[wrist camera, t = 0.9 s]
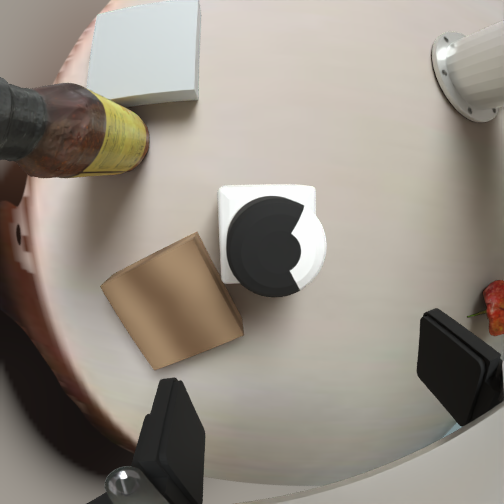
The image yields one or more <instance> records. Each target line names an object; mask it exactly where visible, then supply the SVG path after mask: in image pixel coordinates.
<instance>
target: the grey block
mask: <svg viewBox="0 0 504 504" xmlns="http://www.w3.org/2000/svg"><path fill="white" fill-rule="evenodd" d="M200 32H201V10H200V4H199V0H170V1H162V2H155V3H149V4H143V5H137V6H132V7H127V8H122V9H118V10H113V11H109V12H105V13H101V14H97V19H96V24H95V29H94V35H93V41H92V48H91V54H90V62H89V70H88V79H87V89H89V90H91V91H93V92H95V93H97V94H99V95H101V96H103V97H105V98H107V99H110V100H112V101H113V102H115V103H117V104H119V105H121V106H123V107H131V106H139V105H147V104H156V103H166V102H177V101H191V100H199V57H200Z"/></svg>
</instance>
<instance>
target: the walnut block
mask: <svg viewBox="0 0 504 504" xmlns="http://www.w3.org/2000/svg"><path fill="white" fill-rule="evenodd" d="M100 287H101V289H102V290H103V292H104V294H105V296H106V297H107V299H108V301H109V302H110V304H111V306H112V307H113V309H114V311H115V312H116V314H117V315H118V317H119V319H120V320H121V322H122V323H123V325H124V327H125V328H126V330H127V331H128V333H129V334H130V336H131V337H132V339H133V340H134V342H135V343H136V345H137V346H138V348H139V349H140V351H141V352H142V354H143V355H144V356H145V358H146V359H147V361H148V362H149V364H150V365H151V366H152V368H153V369H154V370H157V369H160V368H162V367H165V366H168V365H170V364H173V363H176V362H178V361H181V360H184V359H186V358H189V357H192V356H194V355H197V354H199V353H202V352H204V351H207V350H209V349H212V348H214V347H217V346H219V345H222V344H224V343H227V342H229V341H231V340H234V339H236V338H239V337H241V336H243V335H244V332H243V322H242V317H241V315H240V313H239V311H238V310H237V308H236V306H235V304H234V302H233V300H232V298H231V296H230V295H229V293H228V291H227V289H226V287H225V285H224V283H223V282H222V280H221V277H220V275H219V273H218V272H217V270H216V268H215V266H214V264H213V262H212V260H211V258H210V256H209V254H208V252H207V250H206V248H205V246H204V244H203V242H202V240H201V238H200V236H199V234H198V232H195V233H193V234H191V235H189V236H187V237H185V238H183V239H181V240H179V241H177V242H175V243H173V244H171V245H169V246H167V247H165V248H163V249H161V250H159V251H157V252H155V253H153V254H151V255H149V256H147V257H145V258H143V259H141V260H140V261H138V262H136V263H134V264H132V265H130V266H128V267H126V268H124V269H122V270H120V271H118V272H116V273H115V274H113V275H112V276H111V277H110V278H109V279H107V280H106V281H105V282H104V283H103V284H102V285H101V286H100Z"/></svg>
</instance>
